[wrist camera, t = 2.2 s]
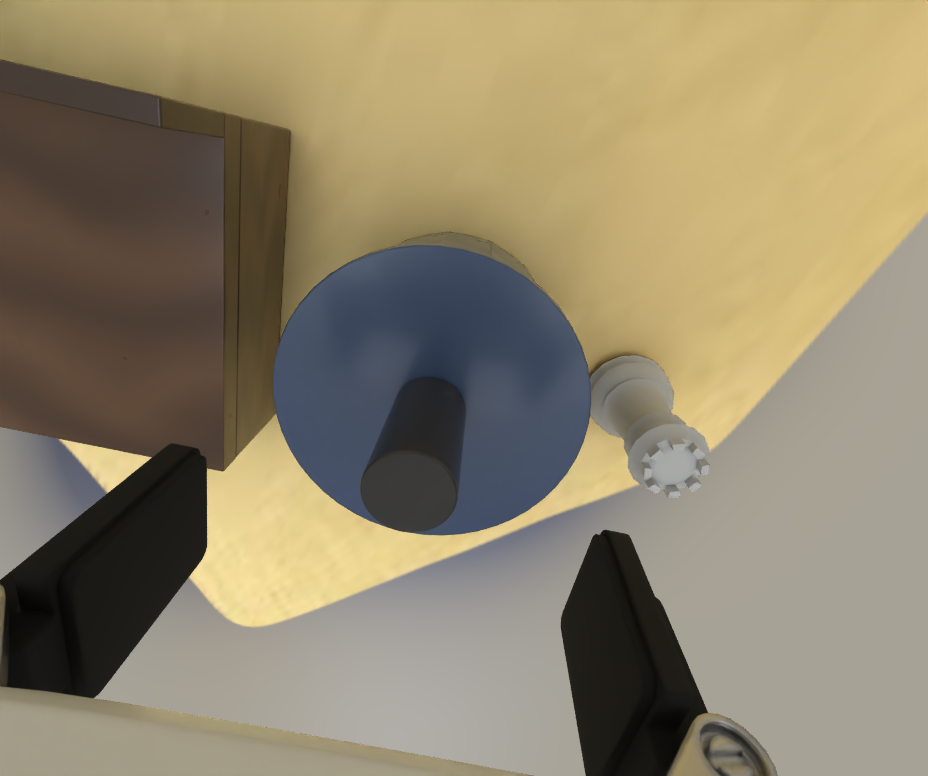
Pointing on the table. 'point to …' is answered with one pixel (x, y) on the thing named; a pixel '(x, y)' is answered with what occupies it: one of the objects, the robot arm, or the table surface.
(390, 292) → the lid
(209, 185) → the shelf
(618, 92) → the table surface
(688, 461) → the rook chess piece
